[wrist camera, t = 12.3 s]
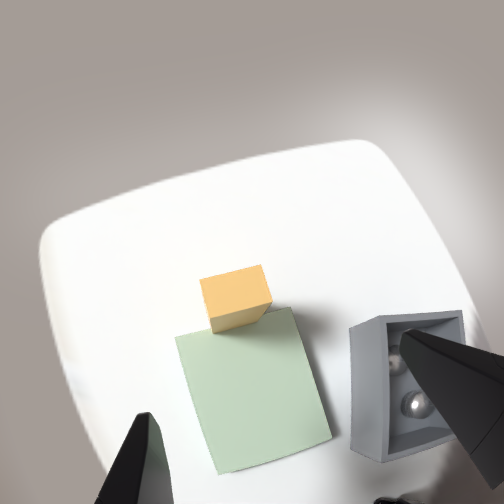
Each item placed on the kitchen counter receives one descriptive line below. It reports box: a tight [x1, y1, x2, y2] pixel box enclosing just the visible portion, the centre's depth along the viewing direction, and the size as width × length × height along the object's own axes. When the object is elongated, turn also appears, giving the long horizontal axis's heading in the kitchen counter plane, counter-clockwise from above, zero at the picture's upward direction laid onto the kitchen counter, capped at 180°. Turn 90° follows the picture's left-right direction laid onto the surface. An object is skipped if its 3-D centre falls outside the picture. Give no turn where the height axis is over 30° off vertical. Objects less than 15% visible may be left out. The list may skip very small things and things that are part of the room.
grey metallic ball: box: [400, 390, 435, 419], centre depth 19 cm, size 2×2×2 cm
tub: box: [349, 310, 466, 463], centre depth 19 cm, size 10×8×5 cm
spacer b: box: [388, 345, 407, 376], centre depth 20 cm, size 2×2×2 cm
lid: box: [175, 265, 332, 475], centre depth 17 cm, size 12×8×8 cm
